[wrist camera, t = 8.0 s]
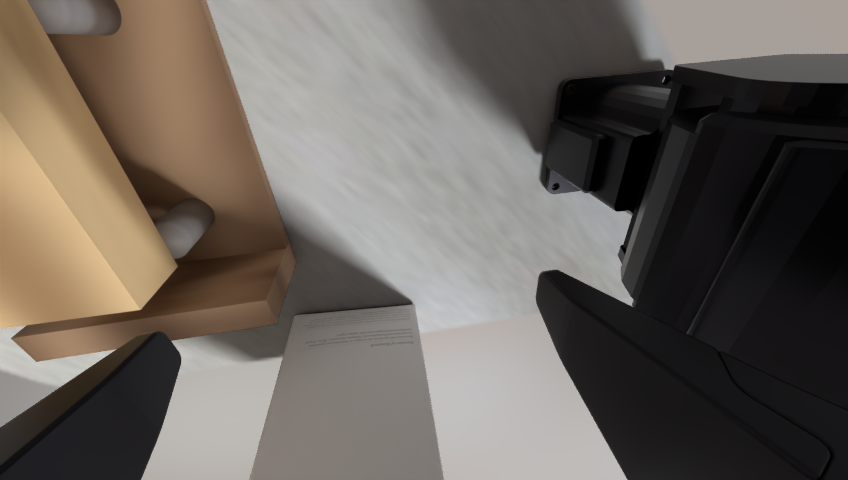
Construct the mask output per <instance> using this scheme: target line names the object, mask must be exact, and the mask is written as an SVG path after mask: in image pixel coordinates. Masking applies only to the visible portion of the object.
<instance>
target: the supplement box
mask: <svg viewBox="0 0 848 480" xmlns="http://www.w3.org/2000/svg"><path fill="white" fill-rule="evenodd" d="M249 480H444V475H443V469H442V463H441V457H440V451H439V445H438V439H437V433H436V428H435V422H434V416H433V410H432V404H431V398H430V392H429V386H428V380H427V374H426V368H425V363H424V356H423V350H422V344H421V338H420V333H419V327H418V321H417V315H416V309H415V305H403V306H392V307H381V308H370V309H359V310H348V311H337V312H327V313H316V314H304V315H295V316H294V318H293V322H292V325H291V329H290V333H289V337H288V341H287V344H286V348H285V352H284V355H283V359H282V363H281V366H280V370H279V374H278V377H277V381H276V385H275V389H274V392H273V395H272V399H271V403H270V406H269V410H268V413H267V417H266V421H265V424H264V428H263V432H262V435H261V439H260V442H259V446H258V450H257V454H256V457H255V461H254V465H253V468H252V471H251V475H250V479H249Z"/></svg>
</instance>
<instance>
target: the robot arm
mask: <svg viewBox="0 0 848 480" xmlns="http://www.w3.org/2000/svg"><path fill="white" fill-rule="evenodd" d="M664 77H665V80H664V82H663V83H662V79H663V78H664ZM569 85H571V91H570V92H569V93H568V94H567V93H566V90H567V87H568V86H569ZM546 166H547V167H548V168H547V175H546V183H545V188H546V190H547V191H548V192H549V193H551V194H560V193H567V192H575V191H582V192H584V193H590V194H591V195H593V196H594V197H596V198H597V199H599V200H600V201H602V202H603V203H605V204H606V205H607V206H609V207H610V208H612V209H613V210H615V211H626V212H627V213H629V214H630V215H632V218H631V222H630V225H629V228H628V231H627V235H626V238H625V241H624V244H623V245H621V246H620V250H619V253H618V257H619V259H620V261H621V263H622V266H621V279H622V283H623V284H624V286H625V288H626V289H627V291H628V292H629V294H630V296H631V297H632V298H633V299H634V300H633V303H632V306H633V307H631V306H629V305H627V304H625V303H623V302H621V301H619V300H617V299H615V298H613V297H611V296H609V295H607V294H605V293H603V292H601V291H599V290H597V289H595V288H593V287H591V286H589V285H587V284H585V283H583V282H581V281H579V280H577V279H575V278H573V277H571V276H569V275H567V274H565V273H563V272H561V271H559V270H549V271H543V272H541V273H540V275H539V278H538V285H537V292H536V302H537V306H538V308H539V311H540V313H541V315H542V318H543V320H544V322H545V325H546V327H547V329H548V332H549V334H550V336H551V339H552V341H553V343H554V346H555V348H556V351H557V353H558V355H559V357H560V359H561V361H562V363H563V365H564V367H565V369H566V370H567V372H568V374H569V376H570V377H571V379H572V381H573V383H574V385H575V386H576V388H577V390H578V392H579V394H580V395H581V397H582V399H583V401H584V403H585V404H586V406H587V408H588V409H589V411H590V413H591V415H592V417H593V419H594V421H595V422H596V424H597V426H598V428H599V429H600V431H601V433H602V434H603V437H604V438H605V440H606V442H607V444H608V445H609V447H610V449H611V451H612V452H613V454H614V456H615V458H616V460H617V462H618V463H619V465H620V467H621V469H622V471H623V472H624V474H625V476H626V478H627V479H628V480H848V54H786V55H785V54H784V55H772V56H763V57H751V58H741V59H731V60H720V61H710V62H700V63H689V64H679V65H675V67H674V70H666V69H661V70H651V71H641V72H631V73H621V74H610V75H600V76H590V77H580V78H570V79H566V80H564V81H563V82H562V83H561V84H560V86H559V89H558V95H557V102H556V109H555V117H554V121H553V122H552V124H551V128H550V136H549V144H548V151H547V159H546ZM554 183H557V184H556V186H555V187H554V188H552V186H553V184H554ZM180 366H181V356H180V353H179V351H178V350H177V349H176V347H175V346H174V344H173V343H172V342H171V340H170V339H169V337H168V336H167V335H166V334H165V333H164V332H162V331H154V332H148V333H143V334H140V335H138V336H136V337H134V338H133V339H131V340H130V341H128V342H127V343H125V344H124V345H123V346H121V347H120V348H118V349H117V350H115V351H114V352H112V353H111V354H109V355H108V356H106V357H105V358H103V359H102V360H100V361H99V362H97V363H96V364H94V365H93V366H91V367H90V368H88V369H87V370H85V371H84V372H82V373H81V374H79V375H78V376H76V377H75V378H73V379H72V380H70V381H69V382H67V383H66V384H64V385H63V386H61V387H60V388H58V389H57V390H55V391H54V392H52V393H51V394H50V395H48V396H47V397H45V398H44V399H42V400H41V401H39V402H38V403H36V404H35V405H33V406H32V407H30V408H29V409H27V410H26V411H24V412H23V413H21V414H20V415H18V416H17V417H15V418H14V419H12V420H11V421H9V422H8V423H6V424H5V425H3V426H2V427H0V480H141V478H142V476H143V474H144V471H145V469H146V466H147V464H148V461H149V459H150V456H151V454H152V451H153V449H154V447H155V444H156V442H157V439H158V436H159V434H160V431H161V428H162V425H163V422H164V419H165V416H166V412H167V409H168V406H169V402H170V399H171V396H172V392H173V389H174V386H175V382H176V379H177V376H178V372H179V369H180Z"/></svg>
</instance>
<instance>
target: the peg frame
mask: <svg viewBox="0 0 848 480" xmlns="http://www.w3.org/2000/svg"><path fill="white" fill-rule="evenodd" d="M27 1H28V2H29V4H30V6H31V8H32V9H33V11H34V13H35V15H36V17H37V18H38V20H39V22H40V24H41V25H42V27H43V29H44V31H45V32H46V34H47V36H48V38H49V39H50V41H51V43H52V45H53V47H54V48H55V50H56V52H57V54H58V55H59V57H60V59H61V61H62V62H63V64H64V66H65V68H66V69H67V71H68V73H69V75H70V77H71V78H72V80H73V82H74V84H75V85H76V87H77V89H78V91H79V92H80V94H81V96H82V98H83V100H84V101H85V103H86V105H87V107H88V108H89V110H90V112H91V114H92V115H93V117H94V119H95V121H96V122H97V124H98V126H99V128H100V130H101V131H102V133H103V135H104V137H105V138H106V140H107V142H108V144H109V145H110V147H111V149H112V151H113V152H114V154H115V156H116V158H117V160H118V161H119V163H120V165H121V167H122V168H123V170H124V172H125V174H126V175H127V177H128V179H129V181H130V183H131V184H132V186H133V188H134V190H135V191H136V193H137V195H138V197H139V198H140V200H141V202H142V204H143V205H144V207H145V209H146V211H147V213H148V214H149V216H150V218H151V220H152V221H153V223H154V225H155V227H156V228H157V230H158V232H159V234H160V235H161V237H162V239H163V241H164V243H165V244H166V246H167V248H168V250H169V251H170V253H171V255H172V257H173V258H174V260H175V262H176V264H177V266H178V267H177V268H176V269H175V270H174V272H173V273H172V274H171V275H170V276H169V277H168V279H167V280H166V281H165V282H164V283H163V284H162V286H161V287H160V288H159V289H158V290H157V291H156V293H155V294H154V295H153V296H152V297H151V298H150V300H149V301H148V302H147V303H146V304H145V305H144V307H143V308H142V309H141V310H136V311H129V312H121V313H114V314H107V315H99V316H92V317H84V318H77V319H69V320H62V321H55V322H47V323H40V324H32V325H27V326H25V327H24V328H23V329H22V330H21V331H19V332H18V333H17V334H16V335H15V336H13V337H12V338H11V339H12V340H13V341H14V342H15V343H17V344H18V345H19V346H20V347H21V348H22V349H23V350H24V351H25V352H26V353H27V354H29V355H30V356H31V357H32V358H33V359H34V360H35V361H36V362H38V361H44V360H50V359H57V358H63V357H69V356H76V355H82V354H89V353H95V352H101V351H108V350H114V349H118V348H120V347H121V346H123V345H124V344H125V343H127V342H128V341H130V340H131V339H133V338H134V337H136V336H138V335H140V334H143V333H148V332H154V331H162V332H164V333H165V334H166V335H167V336H168V337H169V339H170V340H171V341H172V340H178V339H184V338H191V337H197V336H204V335H210V334H216V333H223V332H229V331H236V330H242V329H248V328H255V327H261V326H267V325H274V324H276V323H277V320H278V317H279V314H280V311H281V308H282V305H283V302H284V299H285V296H286V293H287V290H288V287H289V284H290V281H291V278H292V275H293V272H294V269H295V265H296V260H295V257H294V254H293V251H292V248H291V245H290V242H289V239H288V236H287V234H286V231H285V228H284V225H283V222H282V219H281V216H280V213H279V210H278V207H277V205H276V202H275V199H274V196H273V193H272V190H271V187H270V184H269V181H268V179H267V176H266V173H265V170H264V167H263V164H262V161H261V158H260V155H259V153H258V150H257V147H256V144H255V141H254V138H253V135H252V132H251V129H250V127H249V124H248V121H247V118H246V115H245V112H244V109H243V106H242V103H241V100H240V98H239V95H238V92H237V89H236V86H235V83H234V80H233V77H232V74H231V72H230V69H229V66H228V63H227V60H226V57H225V54H224V51H223V48H222V46H221V43H220V40H219V37H218V34H217V31H216V28H215V25H214V22H213V19H212V17H211V14H210V11H209V8H208V5H207V2H206V0H27Z"/></svg>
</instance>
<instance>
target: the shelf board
mask: <svg viewBox="0 0 848 480" xmlns="http://www.w3.org/2000/svg"><path fill="white" fill-rule="evenodd" d="M177 267H178V266H177V264H176V262H175V260H174V258H173V257H172V255H171V253H170V251H169V250H168V248H167V246H166V244H165V243H164V241H163V239H162V237H161V235H160V234H159V232H158V230H157V228H156V227H155V225H154V223H153V221H152V220H151V218H150V216H149V214H148V213H147V211H146V209H145V207H144V205H143V204H142V202H141V200H140V198H139V197H138V195H137V193H136V191H135V190H134V188H133V186H132V184H131V183H130V181H129V179H128V177H127V175H126V174H125V172H124V170H123V168H122V167H121V165H120V163H119V161H118V160H117V158H116V156H115V154H114V152H113V151H112V149H111V147H110V145H109V144H108V142H107V140H106V138H105V137H104V135H103V133H102V131H101V130H100V128H99V126H98V124H97V122H96V121H95V119H94V117H93V115H92V114H91V112H90V110H89V108H88V107H87V105H86V103H85V101H84V100H83V98H82V96H81V94H80V92H79V91H78V89H77V87H76V85H75V84H74V82H73V80H72V78H71V77H70V75H69V73H68V71H67V69H66V68H65V66H64V64H63V62H62V61H61V59H60V57H59V55H58V54H57V52H56V50H55V48H54V47H53V45H52V43H51V41H50V39H49V38H48V36H47V34H46V32H45V31H44V29H43V27H42V25H41V24H40V22H39V20H38V18H37V17H36V15H35V13H34V11H33V9H32V8H31V6H30V4H29V2H28V1H27V0H0V327H1V328H10V327H17V326H25V325H32V324H40V323H47V322H55V321H62V320H69V319H77V318H84V317H92V316H99V315H107V314H114V313H121V312H129V311H136V310H141V309H142V308H143V307H144V305H145V304H146V303H147V302H148V301H149V300H150V298H151V297H152V296H153V295H154V294H155V293H156V291H157V290H158V289H159V288H160V287H161V286H162V284H163V283H164V282H165V281H166V280H167V279H168V277H169V276H170V275H171V274H172V273H173V272H174V270H175V269H176V268H177Z"/></svg>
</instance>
